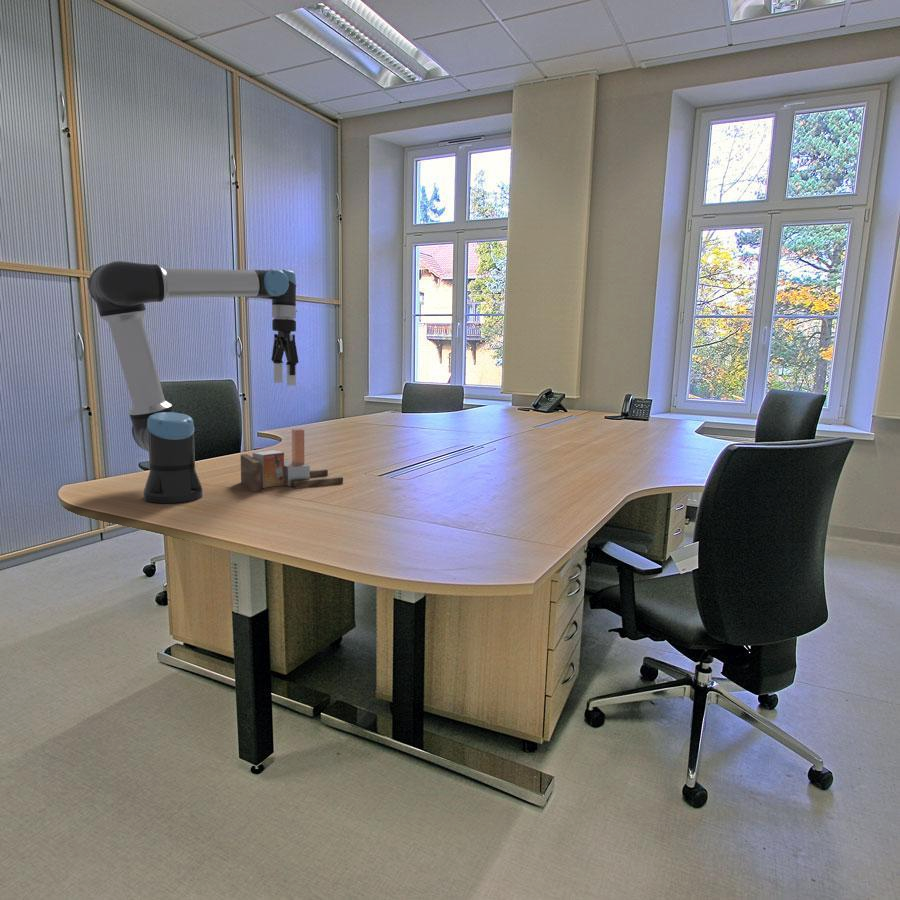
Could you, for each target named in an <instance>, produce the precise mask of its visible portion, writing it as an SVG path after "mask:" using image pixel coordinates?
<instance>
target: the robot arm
mask: <svg viewBox="0 0 900 900" xmlns="http://www.w3.org/2000/svg"><path fill="white" fill-rule="evenodd" d="M296 282H297V279H296V273H295V272H294V271H292V270H289V269H277V268H276V269H274V268H273V269H272V268H271V269H266V270H265V269H263V270H262V269H217V268H216V269H215V268H214V269H213V268H212V269H211V268H209V269H208V268H163V267H162V266H161V265H159V264H156V263H155V264H153V263H151V264H150V263H138V262H131V261H123V260H117V261H112V262H109V263H106V264H102V265H100V266H98V267H96V268H95V269H94V270H93V271H92V273H91V274H90V276H89V278H88V283H87V284H88V285H87V286H88V288H87V289H88V292H89V294H90V296H91V298H92V299H93V300H94V302H95V303H96V304H95V305H96V308H97V310H98V313H99V317H100V318H101V319H102V320H103V321H105V322H107V324H108V325H109V329H110V332H111V336H112V338H113V342H114V343H113V344H114V346H115V350H116V352H117V353H116V354H117V356H118V360H119V363H120V367H121V370H122V373H123V376H124V379H125V382H126V383H125V384H126V386H127V390H128V394H129V397H130V400H131V404H132V407H131V409H130V411H129V412H128V414H129V417H130V421H131V424H132V425H131V435H132V438H133V441H134V442H135V443H136V445H138V447H139V448H141V449H142V450H144V451H146V452H148V461H149V462H148V463H149V473H148V477H147V480H146V482H145V486H144V490H143V499H144V501H146V502H148V501H149V503H153V502H155V503H154V504H178V503H180V504H181V503H186V502H192V501H195V500H198V499H201V498H202V497H203V486H202V484H201V481H200V479H199V476H198V472H197V471H196V458H195V457H196V455H195V424H194V419H193V418H192V417H191V416H190V415H188V414H186V413H180V412H175V411H174V410H175V409H174V406H173V404H172V402H171V403H170V402H169V401H167V400H166V399H165V396H164V393H163V389H162V385H161V381H160V377H159V374H158V371H157V367H156V363H155V359H154V356H153V353H152V347H151V346H150V345H151V344H150V342H149V338H148V335H147V330H146V327H145V324H144V320H143V316H144V315H145V314H146V312H147V310H146V306H145V305H146V304H149V303H156V302H157V303H158V302H159V303H161V302H162V303H163V302H164V301H165V300H166V299H169V298H170V299H171V298H172V299H173V298H174V299H175V298H178V299H179V298H182V299H183V298H184V299H185V298H235V297H238V298H239V297H240V298H251V299H252V298H253V299H262V300H264V299H266V300H271V317H272V321H271V323H272V324H271V325H272V327H271V328H272V331H274V332H277V333H274V336H273V346H272V352H271V361H272V362H273V363H272V364H273V383H275V384H277V383H280V384H282V383H283V364H284V361H283V358H284V354H285V358H286V363H285V365H286V385H287V386H297V370H296V369H297V364H299V362H300V361H299V356H298V350H297V345H296V344H297V343H296V335H295V332H296V331H297V321H296V320H295V319H296V318H297V317H296V316H297V313H298V309H296V308H297V306H296V303H297V302H296V301H297V296H296V295H297V293H296V290H297V288H296V287H297V283H296ZM291 332H293V333H291Z"/></svg>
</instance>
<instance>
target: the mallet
mask: <svg viewBox="0 0 900 900" xmlns="http://www.w3.org/2000/svg"><path fill="white" fill-rule="evenodd" d="M310 468H311V465H309V464H307V463H305V429H302V428H293V429H292V428H291V460H288V461H285V460H284V485H285V486H287V487H293V481H298V480H309V479H311V477H310V470H311V469H310Z"/></svg>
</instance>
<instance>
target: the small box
mask: <svg viewBox="0 0 900 900" xmlns="http://www.w3.org/2000/svg"><path fill="white" fill-rule="evenodd" d="M252 457H253V458H254V459H256V460H258V461H259V462H260V474H261V489H265V488H270V487H278V486H283V485H285V484H284V461H285V452H284V451H278V450H274V449H273V450H266V451H259V452H252Z"/></svg>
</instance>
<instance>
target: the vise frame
mask: <svg viewBox="0 0 900 900" xmlns="http://www.w3.org/2000/svg"><path fill="white" fill-rule="evenodd" d="M328 471H329V470H328V469H327V468H324V469H323V468H322V469H313V470H311V469H310V479H309V480H298V481H293V486H292V487H293V488H294V489H299V488H302V489H303V488H309V487H311V488H312V487H320V486H321V487H322V486H332V485H342V484H344V477H343V476H335V477H334V476H333V477H332V476H331V477H328V476H329V474H328ZM316 477H317V478H316ZM318 477H319V478H318ZM320 477H322V478H320ZM323 477H324V478H323ZM240 483H241V484H242V485H244V486H246V487H247V488H248V489H249V490H251V491H252V492H253V493H259V492H262V491H261V489H262V488H261V474H260V462H259V461H258V460H256V459H254V458H253V456H251V455H250V454H247V453H245V454H243V453H242V454H240Z"/></svg>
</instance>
